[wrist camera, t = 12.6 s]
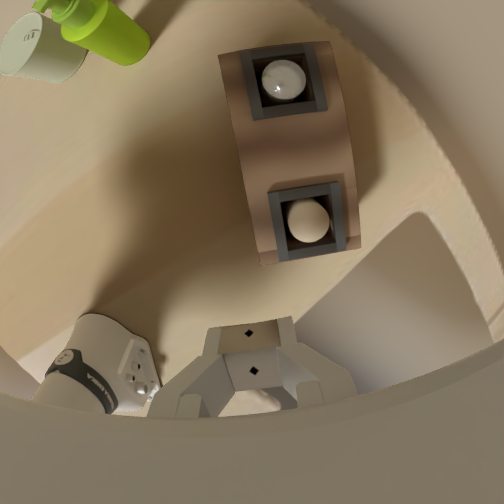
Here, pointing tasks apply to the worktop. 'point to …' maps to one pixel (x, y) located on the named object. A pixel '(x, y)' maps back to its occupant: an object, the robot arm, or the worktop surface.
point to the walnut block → (293, 150)
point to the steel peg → (281, 83)
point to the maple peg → (306, 219)
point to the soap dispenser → (99, 28)
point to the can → (39, 50)
